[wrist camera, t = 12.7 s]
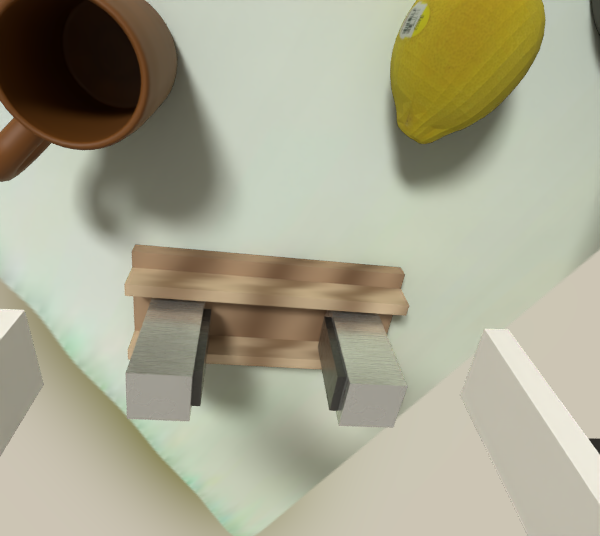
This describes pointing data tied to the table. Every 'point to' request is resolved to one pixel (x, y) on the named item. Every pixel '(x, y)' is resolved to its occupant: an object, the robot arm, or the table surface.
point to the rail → (262, 299)
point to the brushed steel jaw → (168, 361)
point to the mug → (79, 74)
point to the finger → (360, 369)
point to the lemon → (460, 61)
